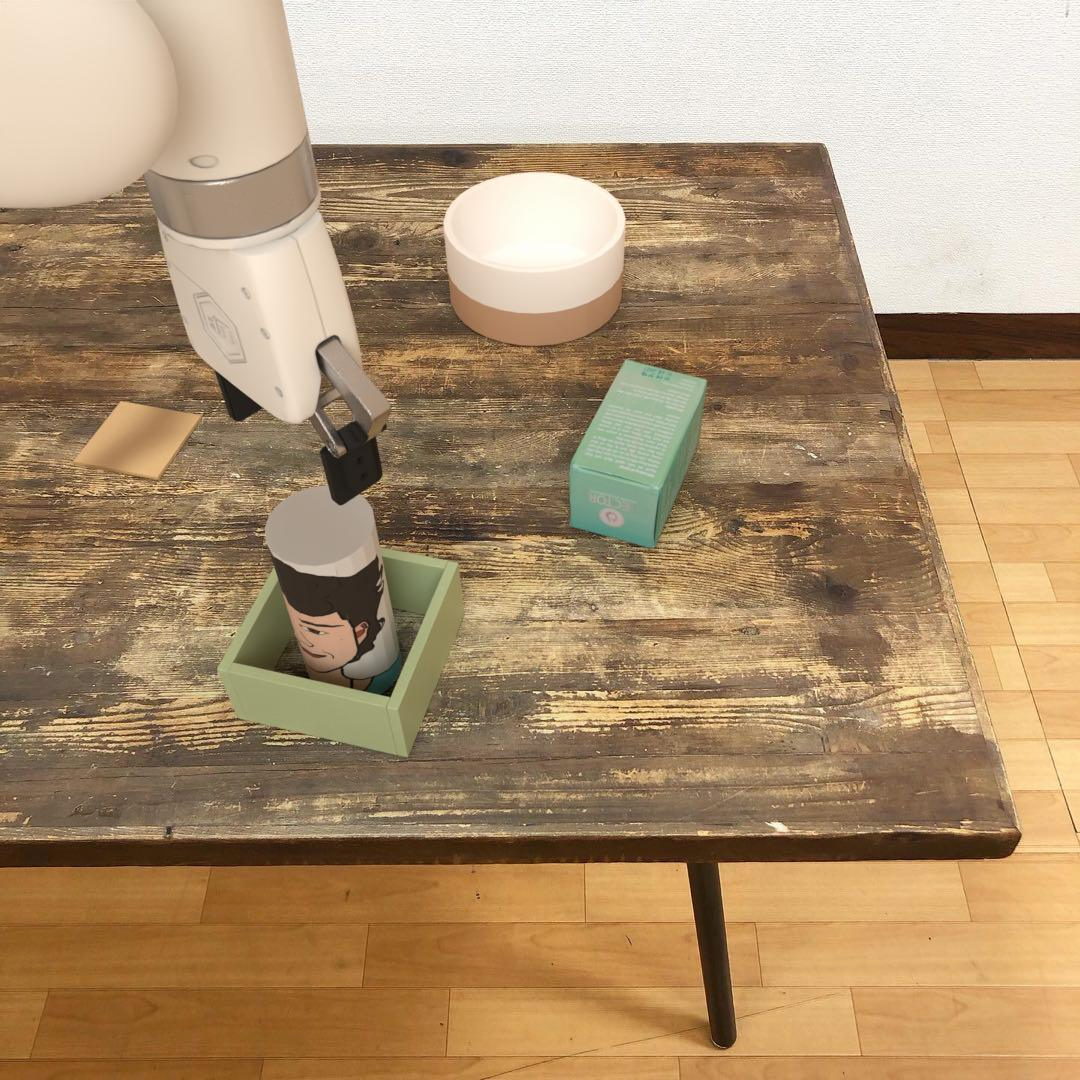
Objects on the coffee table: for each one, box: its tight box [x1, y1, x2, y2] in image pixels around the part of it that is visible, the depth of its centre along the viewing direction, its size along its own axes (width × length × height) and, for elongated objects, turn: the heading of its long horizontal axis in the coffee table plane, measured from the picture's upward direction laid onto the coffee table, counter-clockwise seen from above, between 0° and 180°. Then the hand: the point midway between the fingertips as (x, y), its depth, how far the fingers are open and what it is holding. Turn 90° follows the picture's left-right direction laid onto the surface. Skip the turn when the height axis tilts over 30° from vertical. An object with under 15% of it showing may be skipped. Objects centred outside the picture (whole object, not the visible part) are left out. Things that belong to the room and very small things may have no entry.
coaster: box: [73, 400, 203, 481], centre depth 93 cm, size 8×8×1 cm
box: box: [568, 359, 708, 549], centre depth 86 cm, size 7×14×8 cm, turn 159°
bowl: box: [442, 171, 627, 347], centre depth 103 cm, size 17×17×8 cm
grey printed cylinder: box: [264, 485, 403, 695], centre depth 72 cm, size 7×7×15 cm
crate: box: [216, 546, 465, 758], centre depth 75 cm, size 13×13×6 cm
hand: (305, 447), depth 61 cm, fingers open, 9 cm apart
